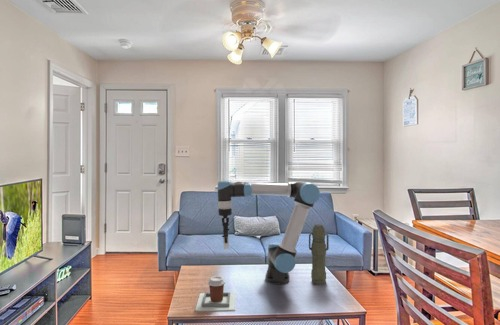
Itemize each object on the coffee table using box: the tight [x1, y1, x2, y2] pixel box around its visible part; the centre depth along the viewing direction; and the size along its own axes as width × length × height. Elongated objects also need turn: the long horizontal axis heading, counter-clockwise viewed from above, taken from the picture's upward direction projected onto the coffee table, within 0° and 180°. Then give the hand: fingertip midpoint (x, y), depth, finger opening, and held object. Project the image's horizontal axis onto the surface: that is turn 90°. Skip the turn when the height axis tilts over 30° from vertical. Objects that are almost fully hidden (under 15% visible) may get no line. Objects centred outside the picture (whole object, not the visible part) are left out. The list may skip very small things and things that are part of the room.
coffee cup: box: [207, 275, 226, 303], centre depth 168 cm, size 9×9×12 cm
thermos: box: [308, 224, 330, 286], centre depth 195 cm, size 9×12×35 cm
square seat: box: [194, 291, 237, 312], centre depth 168 cm, size 20×20×2 cm
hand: (226, 245), depth 181 cm, fingers open, 13 cm apart
